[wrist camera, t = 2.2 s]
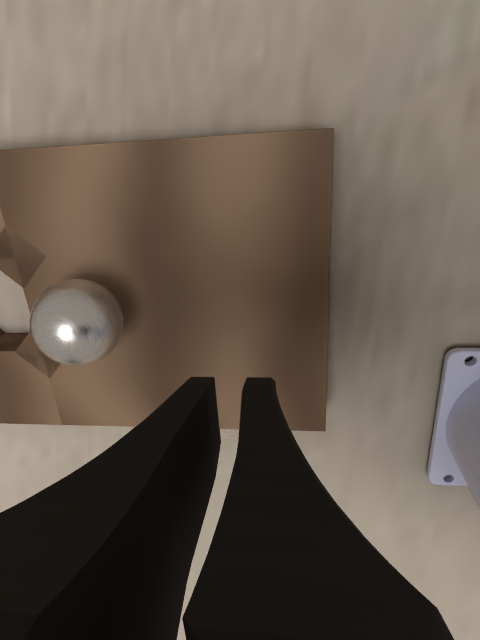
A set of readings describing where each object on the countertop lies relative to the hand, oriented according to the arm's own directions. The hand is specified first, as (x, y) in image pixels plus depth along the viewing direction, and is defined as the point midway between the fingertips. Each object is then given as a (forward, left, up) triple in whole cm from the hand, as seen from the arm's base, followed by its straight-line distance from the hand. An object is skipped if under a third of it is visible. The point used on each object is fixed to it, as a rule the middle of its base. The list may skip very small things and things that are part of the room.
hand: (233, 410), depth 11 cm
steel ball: (+7, 0, -6) cm, 9 cm away
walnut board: (+6, 0, -9) cm, 11 cm away
